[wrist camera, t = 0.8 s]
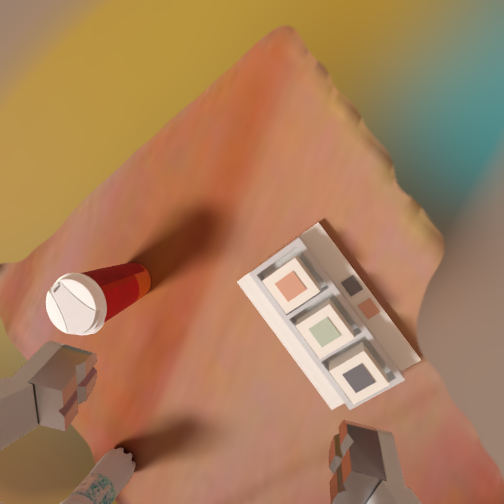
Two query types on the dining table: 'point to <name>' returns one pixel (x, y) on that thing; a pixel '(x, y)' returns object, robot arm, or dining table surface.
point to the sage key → (325, 328)
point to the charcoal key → (358, 373)
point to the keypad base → (348, 303)
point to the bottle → (104, 479)
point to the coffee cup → (95, 296)
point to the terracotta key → (291, 284)
